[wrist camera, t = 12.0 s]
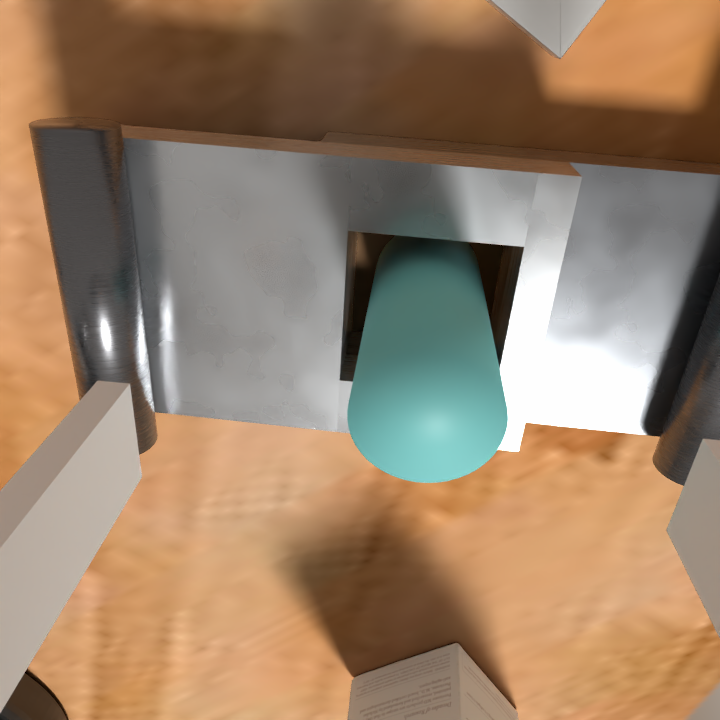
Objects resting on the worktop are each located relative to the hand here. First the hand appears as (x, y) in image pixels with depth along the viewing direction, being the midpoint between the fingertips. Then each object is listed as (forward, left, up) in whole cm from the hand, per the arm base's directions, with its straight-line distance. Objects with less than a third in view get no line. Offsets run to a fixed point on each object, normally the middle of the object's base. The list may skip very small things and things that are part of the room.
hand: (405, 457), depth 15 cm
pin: (0, 0, -11) cm, 11 cm away
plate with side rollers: (0, 0, -11) cm, 11 cm away
